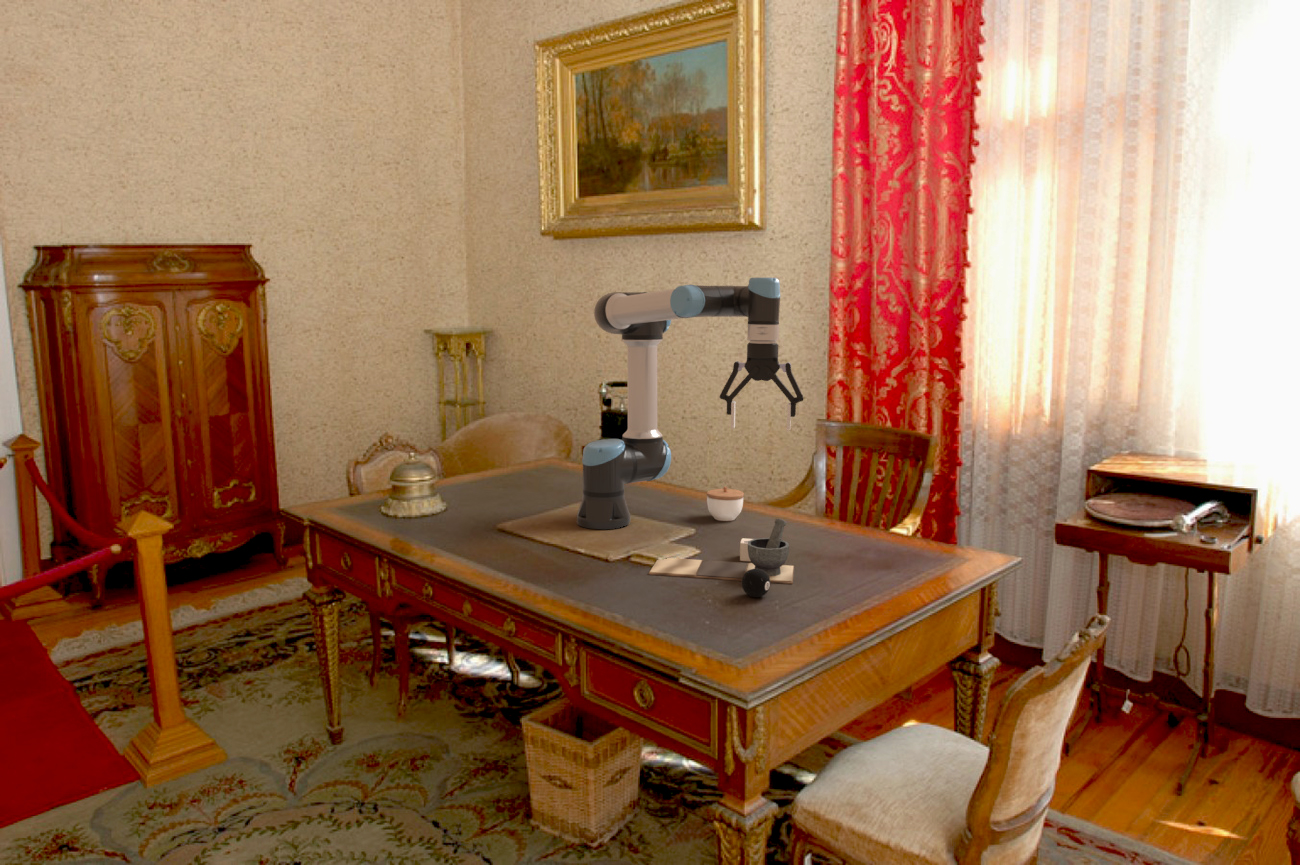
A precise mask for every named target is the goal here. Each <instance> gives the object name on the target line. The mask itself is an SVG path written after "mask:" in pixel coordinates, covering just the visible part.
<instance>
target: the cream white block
mask: <svg viewBox="0 0 1300 865" xmlns="http://www.w3.org/2000/svg"><path fill="white" fill-rule="evenodd" d="M753 539H754V538H741V540H740V544H739V545H740V546H739V561H742V562H751V560H750V558H749V555H748V541H750V540H753Z"/></svg>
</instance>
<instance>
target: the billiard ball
mask: <svg viewBox="0 0 1300 865" xmlns="http://www.w3.org/2000/svg"><path fill="white" fill-rule="evenodd" d="M741 587H742V590H743V592H745V594H746V595H748V596H749V597H753V598H761V597H763V596H765V595H766V594H767V593H768V592H769V591H770V588H771V583H770V578H769V576H768V574H767V573H766V572H765V571H763V570H761V569H751V570H748V571H747V572H746V573H745V574H744V576H743V578H742V581H741Z"/></svg>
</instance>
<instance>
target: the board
mask: <svg viewBox="0 0 1300 865" xmlns="http://www.w3.org/2000/svg"><path fill="white" fill-rule="evenodd" d="M666 558H667V559H664V560H657V559H656V561H655V563H654V564H653V565H652V567H651V568H650V570H649V571H648V573H647V574H648V575H649V576H650V575H651V576H664V577H665V576H666V577H679V578H680V577H681V578H682V577H683V578H695V579H696V578H697V579H710V580H711V579H712V580H723V581H724V580H725V581H739V582H742V578H743V576H744V574H745V573H746V572H747V571H748V570H751V569H755V565H754V564H753V563H752V562H738V561H723V560H722V561H721V560H710V559H709V560H706V559H691V558H690V559H689V558H675V557H666ZM780 571H781V574H780V575H777V576H769V578H770V584H772V583H773V584H786V585H787V584H788V585H793V582H794V574H795V565H787V564H783V565H782V566H781V567H780Z"/></svg>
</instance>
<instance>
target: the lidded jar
mask: <svg viewBox="0 0 1300 865" xmlns="http://www.w3.org/2000/svg"><path fill="white" fill-rule="evenodd" d="M744 497H745V493H744V492H743V490H738V489H734V488H733V489H732V488H728V486H723V488H715V489H714V488H713V489H710V490H708V491H707V492H706V504H707V509H708V511H709V514H710V515H711V516H712V517H713V519H714V520H716V521H721V522H730V521H731V522H733V521H735V520H736V518H737V517H738V516H739V515H740V514H741V512H742V511H743V506H744Z"/></svg>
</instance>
